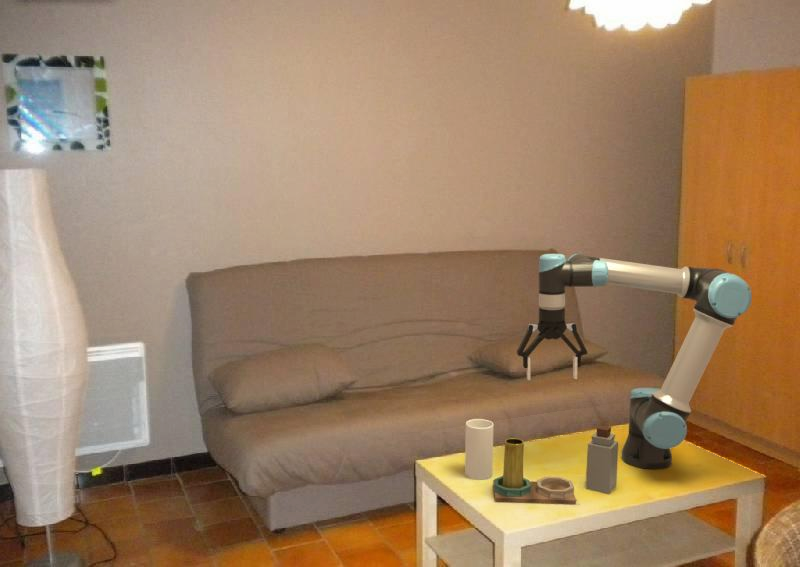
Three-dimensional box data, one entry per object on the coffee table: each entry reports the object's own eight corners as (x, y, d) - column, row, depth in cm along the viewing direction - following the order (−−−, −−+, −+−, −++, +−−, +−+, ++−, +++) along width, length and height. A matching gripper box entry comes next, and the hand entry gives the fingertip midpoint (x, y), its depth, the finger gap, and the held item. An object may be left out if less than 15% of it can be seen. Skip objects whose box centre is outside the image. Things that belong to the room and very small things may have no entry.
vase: (522, 494, 219) (524, 445, 217) (500, 492, 220) (502, 444, 218) (524, 485, 225) (525, 438, 223) (502, 483, 226) (504, 436, 224)
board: (569, 486, 228) (570, 475, 227) (575, 504, 216) (576, 493, 215) (493, 484, 229) (493, 473, 229) (495, 501, 217) (495, 491, 217)
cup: (496, 471, 238) (497, 421, 236) (487, 481, 231) (488, 429, 228) (470, 467, 242) (471, 417, 239) (461, 477, 234) (461, 425, 232)
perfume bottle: (609, 494, 222) (611, 433, 220) (585, 489, 226) (588, 429, 223) (616, 485, 228) (619, 426, 225) (593, 480, 232) (596, 422, 229)
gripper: (592, 304, 231) (591, 373, 235) (507, 305, 232) (507, 375, 236) (598, 308, 224) (597, 380, 227) (510, 310, 225) (510, 382, 228)
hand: (551, 378), depth 231 cm, fingers open, 13 cm apart
